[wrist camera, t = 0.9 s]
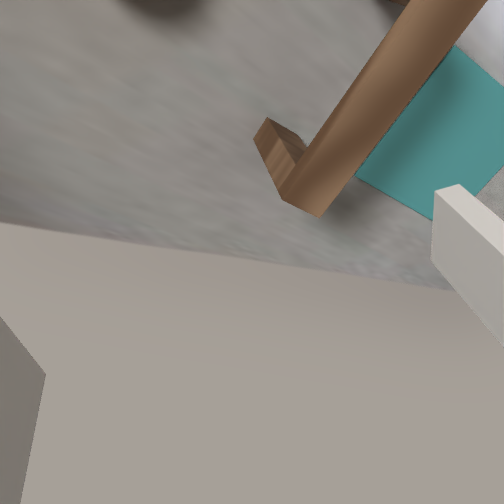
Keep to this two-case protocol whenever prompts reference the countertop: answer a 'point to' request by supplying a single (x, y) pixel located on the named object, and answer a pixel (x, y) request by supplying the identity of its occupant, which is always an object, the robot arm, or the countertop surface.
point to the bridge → (364, 105)
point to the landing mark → (442, 137)
